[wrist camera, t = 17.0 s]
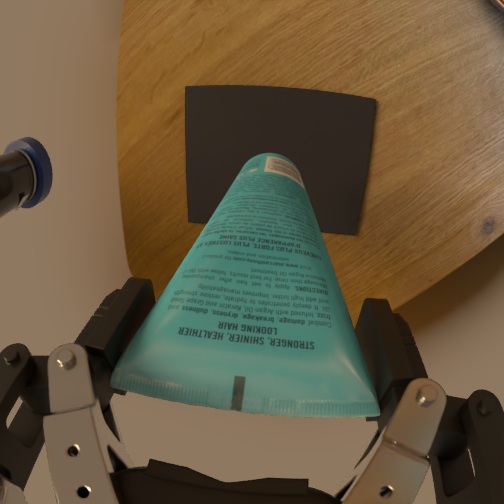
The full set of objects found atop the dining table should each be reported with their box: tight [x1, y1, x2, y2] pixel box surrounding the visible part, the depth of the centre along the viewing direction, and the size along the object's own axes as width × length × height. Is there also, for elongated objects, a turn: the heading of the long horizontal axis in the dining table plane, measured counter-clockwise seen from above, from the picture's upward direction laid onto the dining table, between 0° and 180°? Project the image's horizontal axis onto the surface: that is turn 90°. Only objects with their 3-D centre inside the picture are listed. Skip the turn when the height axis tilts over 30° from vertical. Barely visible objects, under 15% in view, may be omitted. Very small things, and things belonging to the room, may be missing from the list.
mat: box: [185, 85, 375, 235], centre depth 32 cm, size 20×16×1 cm
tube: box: [110, 153, 381, 418], centre depth 15 cm, size 7×5×19 cm, turn 92°
